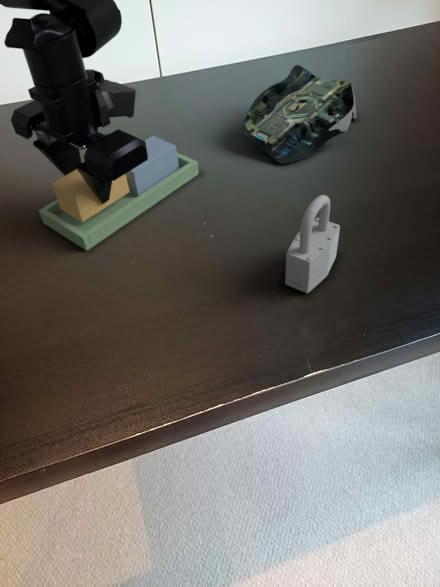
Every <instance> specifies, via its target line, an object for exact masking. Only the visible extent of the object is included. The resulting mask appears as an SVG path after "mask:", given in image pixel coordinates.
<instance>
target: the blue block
mask: <svg viewBox="0 0 440 587" xmlns="http://www.w3.org/2000/svg"><path fill="white" fill-rule="evenodd" d="M144 141H145V142H146V148H147V153H148V160H147V161H145V162H143V163H142V164H140V165H139V166H137V167H135V168H134V169H132V170H131V171H129V172H127V173H126V178H127V183H128V187H129V192H130V193H132V194H134V195H135V196H137V197H138V196H140V195H141V194H143V193H144V192H146V191H147V190H149V189H150V188H152V187H153V186H155V185H156V184H158V183H159V182H161V181H162V180H164V179H165V178H167V177H168V176H170V175H171V174H173V173H174V172H176V171H177V170H179V165H178V158H177V153H178V151H177V150H178V149H177V145H175V144H173V143H171V142H170V141H169V142H168V141H166V140H164V139H162V138H159V137H157V136H154V135H152V136H149V137H148V138H147V139H145V140H144Z"/></svg>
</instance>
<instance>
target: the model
mask: <svg viewBox="0 0 440 587" xmlns="http://www.w3.org/2000/svg"><path fill="white" fill-rule="evenodd" d="M352 119H353V120H357V106H356V96H355V92H354V89H353V86H352V82H351V81H348V80H340V79H325V78H321V77H318V76H316V75H315V74H313V73H312V72H310V71H309V70H307V69H306V68H305V67H303V66H301V65H299V64H295V65H294V66H293V67H292V69H291V70H290V72H289V74H288V75H287V76H286V78H284V79H283V80H281V81H278V82H277V83H275V84H272V85H271V86H269V87H268V88H266V89H265V90H263V91H262V92H261V93H260V94H259V95H258V96H257V97H256V98H255V99H254V101H253V102H252V104H251V105H250V108H249V110H248V111H247V114H246V117H245V118H244V122H243V128H242V133H243V134H244V135H246V136H247V137H249V139H251V140H252V141H254V143H255V144H256V145H258V146H259V148H263V149H264V151H266V152H267V154H268V155H269V156H270V157H271V158H272V159H274V160H275V161H276V162H277V163H278V164H282V165H286V164H289V163H294V162H295V161H299V160H304V159H306V158H309V157H311V156H312V155H313V154H315V153H316V152H317V151H318V150H319V149H320V148H321V147H322V146H323V145H324V144H326V143H327V142H328V141H329V140H331V139H333V138H335V137H337V136H339V135H341V134H343V133H347V132H348V130H349V127H350V125H351V122H352Z"/></svg>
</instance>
